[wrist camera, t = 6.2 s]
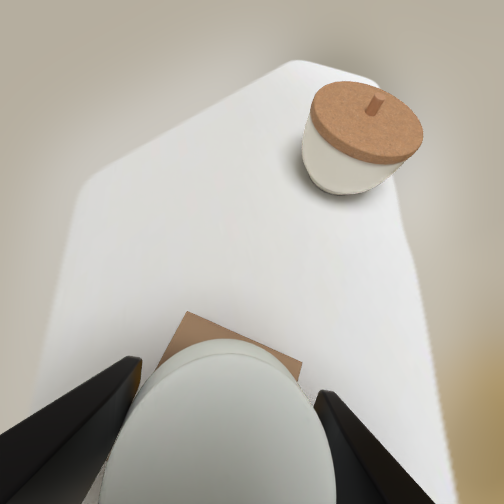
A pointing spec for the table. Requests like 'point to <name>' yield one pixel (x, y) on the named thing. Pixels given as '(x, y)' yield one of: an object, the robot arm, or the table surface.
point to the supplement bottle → (220, 434)
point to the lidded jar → (357, 137)
